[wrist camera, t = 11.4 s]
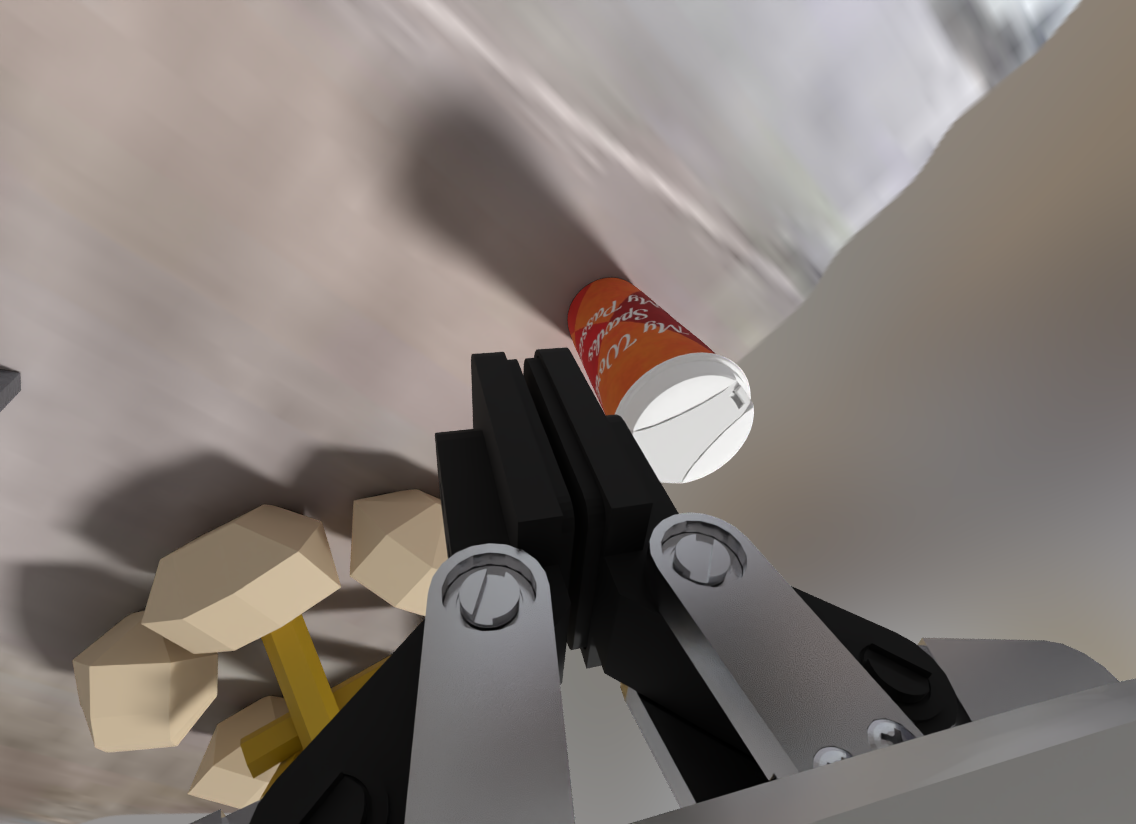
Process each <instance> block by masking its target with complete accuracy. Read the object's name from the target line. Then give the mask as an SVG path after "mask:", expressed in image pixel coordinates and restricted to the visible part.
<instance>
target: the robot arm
mask: <svg viewBox="0 0 1136 824" xmlns="http://www.w3.org/2000/svg"><path fill="white" fill-rule="evenodd" d="M471 374H472V404H473V429H469V430H459V431H449V432H439V433H435V442H436V455H437V467H438V478H439V488H440V498H441V507H442V516H443V524H444V532H445V540H446V548H447V556H448V559H447V560H446V561H445V562H443V563H442V564H441V566H440V567H439V569H438V570H437V571H436V573H435V574H434V576H433V577H432V580H431V584H430V587H429V590H428V596H427V606H426V616H425V619H424V620H423V621H422V622H421V624H420V625H419V626H418V627H417V628H416V629H415V630H414V631H413V632H412V633H411V634H410V635H409V637H408V638H407V639H406V640H405V641H404V642H403V643H402V644H401V645H400V646H399V647H398V648H397V650H396V651H395V652H394V653H393V654H392V655H391V656H390V657H389V658H388V659H387V660H386V661H385V662H384V664H383V665H382V666H381V667H380V668H379V669H378V670H377V671H376V672H375V673H374V674H373V675H372V677H371V678H370V679H369V680H368V681H367V682H366V683H365V684H364V685H363V686H362V687H361V688H360V690H359V691H358V692H357V693H356V694H355V695H354V696H353V697H352V698H351V699H350V700H349V701H348V702H347V704H346V705H345V706H344V707H343V708H342V709H341V710H340V711H339V712H338V713H337V714H336V715H335V717H334V718H333V719H332V720H331V721H330V722H329V723H328V724H327V725H326V726H325V727H324V728H323V730H322V731H321V732H320V733H319V734H318V735H317V736H316V737H315V738H314V739H313V740H312V741H311V742H310V744H309V745H308V746H307V747H306V748H305V749H304V750H303V751H302V752H301V753H300V754H299V755H298V757H297V758H296V759H295V760H294V761H293V762H292V763H291V764H290V765H289V766H288V767H287V768H286V769H285V771H284V772H283V773H282V774H281V775H280V776H279V777H278V778H277V779H276V780H275V782H274V783H273V784H272V786H271V787H270V788H269V790H268V791H267V792H266V794H265V795H264V797H263V798H262V799H261V800H258V801H256V802H254V803H252V804H250V805H248V806H246V807H244V808H242V809H240V810H237V811H235V812H233V813H231V814H229V815H227V816H225V815H224V813H223V812H222V810H221V809H220V810H218V811H216V812H214V813H211V814H209V815H207V816H205V817H203V818H201V819H199V820H197V821H194V822H193V823H190V824H575V817H574V807H573V798H572V789H571V780H570V770H569V761H568V752H567V743H566V735H565V734H566V733H565V724H564V716H563V706H562V696H561V687H560V685H561V683H562V678H563V669H564V660H565V652H566V643H567V644H568V646H569V648H570V649H571V650H574V649H578V648H580V649H581V652H582V655H583V658H584V662H585V665H586V668H591V667H596V666H600V665H602V667H603V670H604V673H605V674H607V675H609V676H611V677H612V678H614V679H616V680H618V681H619V682H620V688H621V690H622V693H623V696H624V699H625V702H626V703H627V705H628V707H629V709H630V711H631V713H632V715H633V717H634V719H635V721H636V723H637V725H638V727H639V729H640V730H641V733H642V734H643V736H644V738H645V740H646V742H647V744H648V746H649V748H650V750H651V752H652V754H653V756H654V758H655V760H656V762H657V763H658V765H659V767H660V769H661V771H662V773H663V775H664V777H665V779H666V781H667V783H668V785H669V787H670V789H671V791H672V792H673V794H674V797H675V798H676V800H677V802H678V804H679V806H680V809H677V810H673V811H670V812H667V813H664V814H660V815H657V816H654V817H650V818H647V819H643V820H640V821H637V822H633V823H630V824H1136V679H1131V680H1126V681H1121V682H1119V681H1118V680H1117V679H1116V678H1115V677H1114V676H1113V675H1112V674H1111V673H1110V672H1109V671H1108V670H1107V669H1106V668H1105V667H1103V666H1102V665H1101V664H1099V663H1098V662H1096V661H1094V660H1093V659H1092V658H1090V657H1089V656H1087V655H1086V654H1084V653H1082V652H1080V651H1078V650H1075V649H1073V648H1071V647H1069V646H1066V645H1064V644H1061V643H1055V642H1050V641H1044V640H1043V641H1042V640H999V639H954V638H922V639H921V640H920V642H919V643H918V645H916V644H915V643H913V642H912V641H910V640H908V639H907V638H904V637H903V636H901V635H899V634H898V633H896V632H893V631H891V630H889V629H887V628H884V627H882V626H880V625H877V624H875V623H873V622H871V621H868V620H866V619H864V618H862V617H860V616H857V615H855V614H853V613H850V612H848V611H846V610H844V609H841V608H839V607H837V606H835V605H832V604H830V603H828V602H825V601H823V600H821V599H819V598H817V597H814V596H812V595H810V594H808V593H805V592H803V591H801V590H799V589H796V588H794V587H792V586H790V585H789V584H788V583H787V582H786V581H785V579H784V578H783V577H782V576H781V575H780V574H779V573H778V571H777V570H775V568H774V567H773V566H772V565H771V564H770V563H769V561H768V560H767V559H766V558H765V557H764V556H763V555H762V554H761V552H760V551H759V550H758V549H757V548H756V547H755V546H754V545H753V544H752V542H751V541H750V540H749V539H748V538H747V537H746V536H745V535H744V534H743V533H741V532H740V531H739V530H738V529H737V528H736V527H734V526H732V525H731V524H729V523H727V522H725V521H723V520H721V519H719V518H716V517H713V516H710V515H706V514H699V513H683V514H679V513H678V512H677V510H676V508H675V507H674V505H673V503H672V501H671V500H670V498H669V496H668V495H667V493H666V491H665V489H664V488H663V486H662V484H661V483H660V481H659V479H658V478H657V476H656V474H655V472H654V471H653V469H652V467H651V466H650V464H649V462H648V460H647V459H646V457H645V455H644V454H643V452H642V450H641V448H640V447H639V445H638V443H637V442H636V440H635V438H634V437H633V435H632V433H631V431H630V430H629V428H628V426H627V425H626V423H625V421H624V420H623V419H622V417H621V416H619V415H617V414H615V415H605V414H604V412H603V410H602V408H601V406H600V405H599V403H598V401H597V399H596V397H595V396H594V394H593V392H592V390H591V388H590V386H589V385H588V383H587V381H586V379H585V377H584V375H583V374H582V372H581V370H580V368H579V366H578V364H577V363H576V361H575V359H574V357H573V355H572V354H571V352H570V350H569V349H568V348H553V349H538V350H536V351H535V355H534V358H526V359H525V361H524V376H523V373H522V371H521V368H520V366H519V363H518V361H517V359H513V360H507V358H506V355H505V353H504V352H495V353H481V354H472V356H471Z"/></svg>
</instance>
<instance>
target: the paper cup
mask: <svg viewBox="0 0 1136 824" xmlns="http://www.w3.org/2000/svg"><path fill="white" fill-rule="evenodd" d="M567 321H568V328H569V332H570V335H571V338H572V340H573V343H574V345H575V348H576V350H577V352H578V354H579V357H580V359H581V361H582V364H583V366H584V368H585V370H586V373H587V375H588V377H589V379H590V382H591V384H592V386H593V388H594V390H595V393H596V395H597V397H598V399H599V401H600V404H601V406H602V408H603V410H604V413H605V415H615V414H617V415H619V416H621V417H622V419H623V420H624V421H625V423H626V425H627V426H628V428H629V430H630V431H631V433H632V435H633V437H634V438H635V440H636V442H637V443H638V445H639V447H640V448H641V450H642V452H643V454H644V455H645V457H646V459H647V460H648V462H649V464H650V466H651V467H652V469H653V471H654V472H655V474H656V476H657V478H658V479H659V481H660V482H666V483H686V482H690V481H693V480H697V479H699V478H702V477H704V476H706V475H708V474H710V473H712V472H714V471H715V470H717V469H718V468H720V467H721V466H722V465H724V464H725V463H726V462H728V461H729V460H730V459H731V458H732V457H733V456H734V455H735V454H736V453H737V451H738V450H739V449H740V448H741V446H742V445H743V443H744V442H745V440H746V439H747V436H748V434H749V432H750V430H751V426H752V423H753V417H754V405H753V403H752V401H751V397H750V387H749V383H748V380H747V378H746V376H745V374H744V372H743V371H742V370H741V369H740V367H739V366H738V365H737V364H735V363H734V362H733V361H731V360H730V359H728V358H726V357H724V356H721V355H717V354H715V353H714V352H713V351H712V350H711V349H710V348H709V347H708V346H707V345H705V344H704V343H703V342H702V341H701V340H700V339H698V338H697V337H696V336H695V335H693V334H692V333H691V332H690V331H688V330H687V329H686V328H685V327H683V326H682V325H681V324H680V323H678V322H677V321H676V320H675V319H674V318H672V317H671V316H670V315H669V314H668V313H667V312H665V311H664V310H663V309H662V308H661V307H660V306H658V305H657V304H656V303H655V302H654V301H652V300H651V299H650V298H649V297H648V296H646V295H645V294H644V293H643V292H642V291H640V290H639V289H638V288H636V287H635V286H634V285H632V284H631V283H629V282H627V281H625V280H623V279H619V278H603V279H599V280H596V281H594V282H592V283H590V284H588V285H587V286H585V287H584V288H583V289H582V290H581V291H580V292H579V293H578V294H577V295H576V296H575V298H574V299H573V301H572V303H571V305H570V308H569V311H568V320H567Z"/></svg>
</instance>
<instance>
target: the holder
mask: <svg viewBox="0 0 1136 824" xmlns="http://www.w3.org/2000/svg"><path fill="white" fill-rule="evenodd" d="M20 391H21V382H20V373H19V372H13V371H7V370H2V369H0V412H1V411H2V410H3V409H4V408H5V407H6V405H7V404H8V403H9V402H10V401H11V400H12V399H13V398H14V397H15V396H16V395H17V394H18V393H19V392H20Z"/></svg>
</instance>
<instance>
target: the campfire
mask: <svg viewBox="0 0 1136 824" xmlns="http://www.w3.org/2000/svg"><path fill="white" fill-rule="evenodd" d="M447 559H448V556H447V548H446V540H445V532H444V524H443V516H442V507H441V499H438V498H436V497H434V496H431V495H429V494H427V493H425V492H422V491H420V490H418V489H413V490H404V491H398V492H393V493H389V494H384V495H379V496H374V497H369V498H364V499H359V500H354V502H353V522H352V542H351V562H350V577H352V578H353V579H355V580H356V581H358V582H359V583H360V584H362V585H363V586H365V587H366V588H368V589H369V590H371V591H372V592H373V593H375V594H376V595H378V596H379V597H381V598H382V599H384V600H385V601H386V602H388V603H389V604H391V605H392V606H394V607H396V608H399V609H403V610H406V611H409V612H413V613H416V614H419V615H423V616H426V606H427V596H428V590H429V587H430V584H431V580H432V577H433V576H434V574H435V573H436V571H437V570H438V569H439V567H440V566H441V564H442V563H443V562H445V561H446V560H447ZM339 588H341V585H340V582H339V578H338V575H337V571H336V568H335V565H334V561H333V558H332V554H331V551H330V547H329V544H328V541H327V537H326V534H325V530H324V527H323V524H322V522H321V521H319V520H316V519H313V518H310V517H307V516H304V515H301V514H298V513H295V512H292V511H289V510H286V509H283V508H280V507H277V506H274V505H266V504H263V505H261V506H259V507H257V508H255V509H254V510H252V511H250V512H248V513H246V514H244V515H242V516H240V517H238V518H236V519H234V520H232V521H230V522H228V523H226V524H224V525H222V526H220V527H218V528H216V529H214V530H212V531H210V532H208V533H206V534H204V535H202V536H200V537H198V538H196V539H195V540H193V541H191V542H189V543H188V544H186V545H184V546H182V547H181V548H179V549H177V550H176V551H174V552H172V553H170V554H169V555H167V556H165V557H163V558H162V559H160V561H159V565H158V568H157V571H156V575H155V578H154V582H153V585H152V588H151V592H150V595H149V599H148V602H147V605H146V609H145V611H141V612H136V613H132V614H130V615H129V616H127V617H125V618H124V619H123V620H121V621H120V622H119V623H118V624H116V625H115V626H114V627H113V628H112V629H110V630H109V631H108V632H107V633H105V634H104V635H103V636H102V637H100V638H99V639H98V640H97V641H95V642H94V643H93V644H92V645H90V646H89V647H88V648H87V649H85V650H84V651H83V652H82V653H80V654H79V655H78V656H77V657H76V658H74V659H73V660H72V662H73V667H74V673H75V679H76V684H77V690H78V695H79V701H80V705H81V707H82V709H83V712H84V715H85V718H86V721H87V724H88V727H89V730H90V733H91V736H92V739H93V742H94V745H95V748H98V749H100V750H102V751H105V752H107V753H108V752H119V751H130V750H140V749H151V748H162V747H173V746H178V744H179V743H180V742H181V741H182V739H183V738H184V737H185V736H186V734H187V733H188V732H189V730H190V729H191V728H192V727H193V725H194V724H195V723H196V722H197V720H198V719H199V718H200V717H201V715H202V714H203V713H204V712H205V710H206V709H207V708H208V707H209V705H210V704H211V703H212V702H213V700H214V699H215V698H216V697H217V675H218V653H217V652H225V651H235V650H237V649H239V648H241V647H243V646H245V645H247V644H249V643H251V642H253V641H255V640H257V639H259V638H262V641H263V644H264V646H265V649H266V652H267V654H268V657H269V660H270V662H271V665H272V667H273V670H274V673H275V675H276V678H277V681H278V683H279V686H280V689H281V691H282V694H283V697H284V698H281V697H275V696H267V697H263V698H262V699H260V700H258V701H256V702H255V703H253V704H251V705H250V706H248V707H246V708H244V709H243V710H241V711H239V712H238V713H236V714H234V715H232V716H231V717H229V718H227V719H226V720H224V721H222V722H220V723H219V724H217V727H216V729H215V731H214V734H213V736H212V738H211V741H210V743H209V745H208V748H207V750H206V752H205V755H204V757H203V759H202V762H201V764H200V766H199V769H198V771H197V773H196V776H195V778H194V780H193V783H192V785H191V787H190V790H189V792H188V794H189V795H193V796H196V797H200V798H203V799H207V800H210V801H214V802H218V803H221V804H225V805H228V806H232V807H235V808H239V809H242V808H244V807H246V806H248V805H250V804H252V803H254V802H256V801H258V800H261V799H262V798H263V797H264V795H265V794H266V792H267V791H268V790H269V788H270V787H271V786H272V784H273V783H274V782H275V780H276V779H277V778H278V777H279V776H280V775H281V774H282V773H283V772H284V771H285V769H286V768H287V767H288V766H289V765H290V764H291V763H292V762H293V761H294V760H295V759H296V758H297V757H298V755H299V754H300V753H301V752H302V751H303V750H304V749H305V748H306V747H307V746H308V745H309V744H310V742H311V741H312V740H313V739H314V738H315V737H316V736H317V735H318V734H319V733H320V732H321V731H322V730H323V728H324V727H325V726H326V725H327V724H328V723H329V722H330V721H331V720H332V719H333V718H334V717H335V715H336V714H337V713H338V712H339V711H340V710H341V709H342V708H343V707H344V706H345V705H346V704H347V702H348V701H349V700H350V699H351V698H352V697H353V696H354V695H355V694H356V693H357V692H358V691H359V690H360V688H361V687H362V686H363V685H364V684H365V683H366V682H367V681H368V680H369V679H370V678H371V677H372V675H373V674H374V673H375V672H376V671H377V670H378V669H379V668H380V667H381V666H382V665H383V664H384V662H385V661H386V660H387V659H388V658H389V657H390V656H391V655H390V656H388V657H386V658H385V659H383V660H381V661H379V662H377V663H376V664H374V665H372V666H370V667H368V668H367V669H365V670H363V671H361V672H360V673H358V674H356V675H354V676H352V677H351V678H349V679H347V680H345V681H343V682H342V683H340V684H338V685H336V686H334V687H333V688H330V685H329V683H328V680H327V678H326V675H325V673H324V670H323V668H322V665H321V662H320V660H319V657H318V655H317V652H316V650H315V647H314V645H313V642H312V639H311V637H310V634H309V632H308V629H307V627H306V624H305V622H304V619H303V616H302V613H303V612H305V611H306V610H308V609H309V608H311V607H312V606H314V605H315V604H317V603H318V602H320V601H321V600H323V599H324V598H326V597H327V596H329V595H330V594H332V593H333V592H335V591H336V590H338V589H339Z"/></svg>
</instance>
